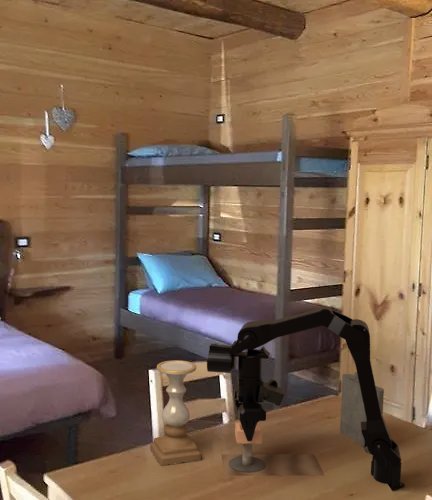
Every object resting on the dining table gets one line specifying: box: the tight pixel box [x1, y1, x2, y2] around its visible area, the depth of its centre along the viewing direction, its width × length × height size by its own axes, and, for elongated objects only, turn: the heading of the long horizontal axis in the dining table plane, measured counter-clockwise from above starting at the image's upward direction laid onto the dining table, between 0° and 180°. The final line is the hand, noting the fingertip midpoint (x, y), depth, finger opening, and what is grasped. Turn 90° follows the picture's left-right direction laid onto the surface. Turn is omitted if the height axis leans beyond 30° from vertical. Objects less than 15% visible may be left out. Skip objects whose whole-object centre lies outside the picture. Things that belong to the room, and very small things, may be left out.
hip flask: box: [339, 371, 385, 454], centre depth 181 cm, size 16×4×20 cm, turn 26°
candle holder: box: [149, 359, 202, 466], centre depth 171 cm, size 11×11×24 cm
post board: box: [221, 443, 325, 477], centre depth 164 cm, size 24×12×8 cm, turn 93°
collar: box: [234, 421, 263, 444], centre depth 163 cm, size 6×6×3 cm
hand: (248, 435), depth 164 cm, fingers closed on collar, 6 cm apart
